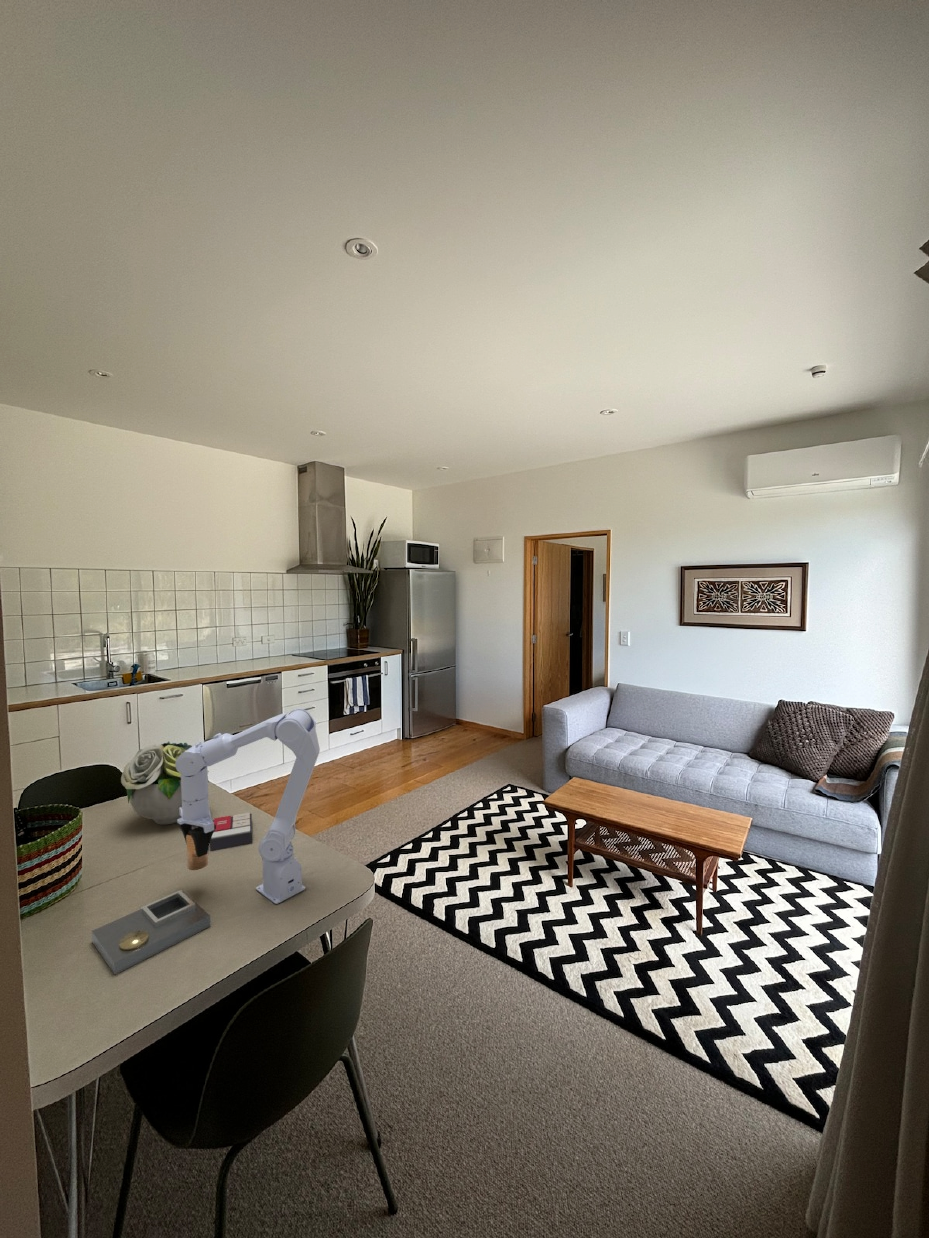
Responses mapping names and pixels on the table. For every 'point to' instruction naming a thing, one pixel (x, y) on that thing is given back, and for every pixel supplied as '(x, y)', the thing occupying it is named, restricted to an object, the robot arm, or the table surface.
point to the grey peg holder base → (149, 930)
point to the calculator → (232, 831)
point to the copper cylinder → (194, 854)
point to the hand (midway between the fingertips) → (197, 851)
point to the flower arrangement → (155, 782)
